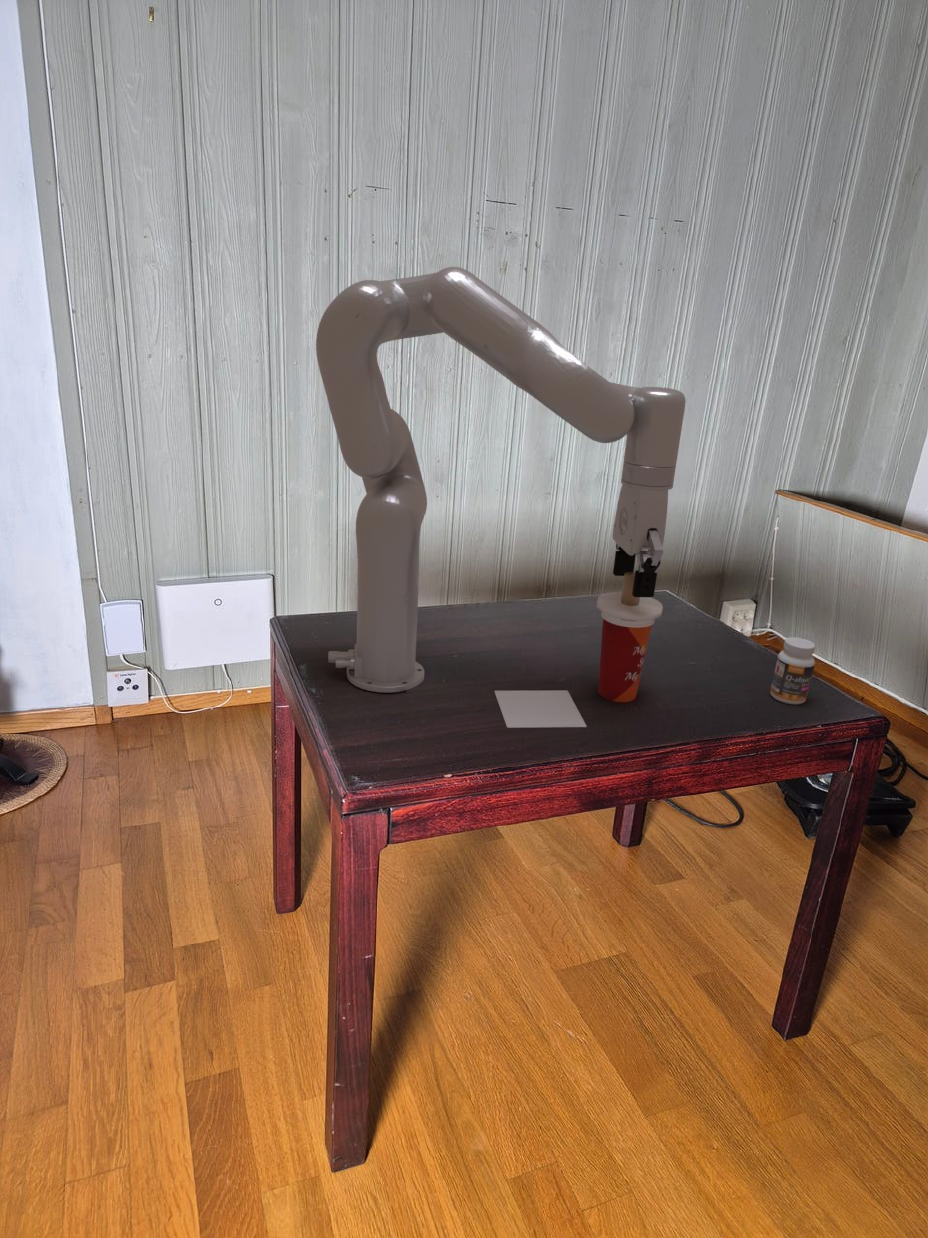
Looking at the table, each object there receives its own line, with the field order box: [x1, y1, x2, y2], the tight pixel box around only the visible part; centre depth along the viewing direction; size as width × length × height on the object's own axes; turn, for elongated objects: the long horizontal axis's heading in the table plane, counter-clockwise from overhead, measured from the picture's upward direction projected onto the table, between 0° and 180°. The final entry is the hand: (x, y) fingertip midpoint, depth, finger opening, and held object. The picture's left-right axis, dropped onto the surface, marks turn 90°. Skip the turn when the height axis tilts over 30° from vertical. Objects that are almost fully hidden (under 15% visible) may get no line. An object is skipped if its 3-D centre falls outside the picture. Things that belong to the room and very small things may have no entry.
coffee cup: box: [598, 612, 655, 703], centre depth 133 cm, size 8×8×15 cm
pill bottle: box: [769, 636, 816, 705], centre depth 137 cm, size 6×6×10 cm
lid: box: [596, 571, 664, 621], centre depth 129 cm, size 10×10×6 cm
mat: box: [494, 689, 588, 729], centre depth 129 cm, size 12×12×1 cm
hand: (632, 585), depth 129 cm, fingers open, 9 cm apart
